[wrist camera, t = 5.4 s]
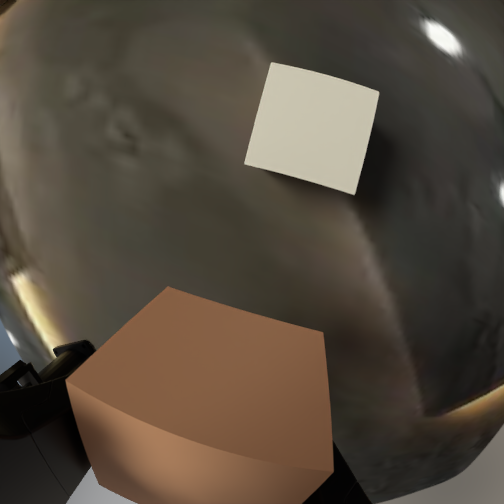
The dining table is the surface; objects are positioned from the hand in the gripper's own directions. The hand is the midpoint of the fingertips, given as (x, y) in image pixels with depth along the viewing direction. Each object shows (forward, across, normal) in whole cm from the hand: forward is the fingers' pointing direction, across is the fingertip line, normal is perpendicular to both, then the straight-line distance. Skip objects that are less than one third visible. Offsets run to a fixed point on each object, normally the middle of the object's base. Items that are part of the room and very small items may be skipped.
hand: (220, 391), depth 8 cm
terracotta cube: (+1, 0, 0) cm, 1 cm away
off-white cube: (+11, -1, -9) cm, 14 cm away
